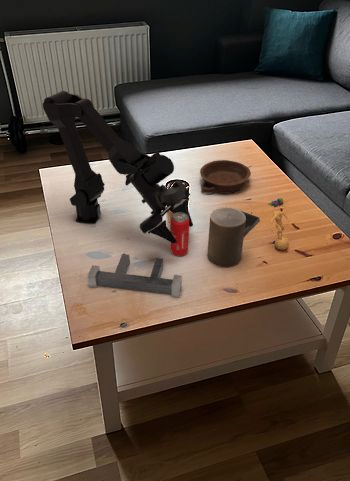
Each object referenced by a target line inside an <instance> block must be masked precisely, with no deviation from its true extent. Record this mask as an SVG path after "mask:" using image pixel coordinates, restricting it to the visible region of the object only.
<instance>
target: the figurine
mask: <svg viewBox="0 0 350 481" xmlns="http://www.w3.org/2000/svg"><path fill="white" fill-rule="evenodd" d="M272 215H273V216H272V218H271V220H270V227H271V228H270V233H272V234H273V233H274V232H275V230H274V229H273V227H274V226H273V222H274V221H275V222H276V224H275V228H276V229H277V230H278V231H277V232H276V233H277V237H276V238H275V239H274V246H275V248H276V249H277V250H279V251H283V250H286V249H288V247H289V244H290V242H289V241H290V240H289V239H288V238H287V237H286V236H285V235H284V234H283V231H285V230H286V227H285V225H284V222H283V216H284V217H285V219H287V221H288V222H290V220H289V218H288V216H287V215H286V213H285V212H283V211H278V210H275V211H274V212H273V214H272Z"/></svg>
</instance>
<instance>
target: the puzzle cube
mask: <svg viewBox="0 0 350 481" xmlns="http://www.w3.org/2000/svg"><path fill="white" fill-rule="evenodd" d="M283 204H284V200H283V198H282V197H280V198H277V200H272V201H271V202H269V203H268V205H269V206H270V207H274V208H277V207H280V206H283Z"/></svg>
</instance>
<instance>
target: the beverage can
mask: <svg viewBox="0 0 350 481" xmlns="http://www.w3.org/2000/svg"><path fill="white" fill-rule="evenodd" d="M169 221H170V223H169V224H170V225H169V226H170V229H169V231H170V232H171V233H172V235H173V236H174V238H175V239H176V241H177V242H176V243H175V244H173V243H171V242H170V246H169V248H170V251H171V254H173V255H174V256H177V257H183V256H185V255H186V254H187V252H188V251H189V245H190V244H189V242H190V239H189V238H190V226H189V218H188V215H187V214H186V213H183V212H177V213H174V212H173V214H172V215H171V216H170V220H169ZM182 255H183V256H182Z"/></svg>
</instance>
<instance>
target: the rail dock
mask: <svg viewBox="0 0 350 481" xmlns="http://www.w3.org/2000/svg"><path fill="white" fill-rule="evenodd" d="M130 264H131V260H130V254H125V253H122V254H121V255H120V259H119V261H118V264H117V266H116V269H115V271H114V272H111V271H104V270H101V266H99V265H94V264H93V265H91V267H90V269H89V272H88V274H87V279H88V280H87V281H88V287H90V288H97V287H98V286H99V287H107V288H115V289H121V290H131V291H139V292H147V293H153V294H154V293H156V294H164V295H171V297H172V298H180V297H181V291H182V283H183V275H179V274H174V275H173V279H171V278H165V277H164V278H162V277H161V276H162V273H163V269H164V258H163V257H155V260H154V263H153V267H152V270H151V272H150V275H149V276H146V275H137V274H129V273H128V274H127V272H128V269H129V267H130Z"/></svg>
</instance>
